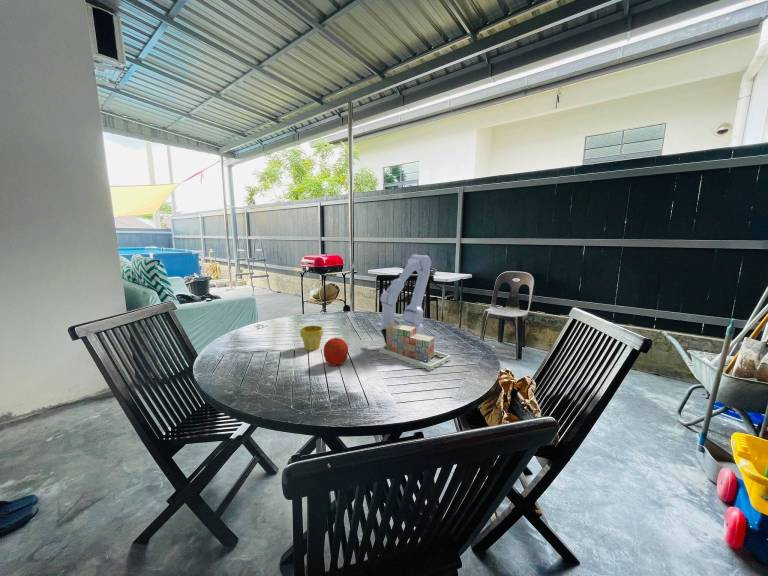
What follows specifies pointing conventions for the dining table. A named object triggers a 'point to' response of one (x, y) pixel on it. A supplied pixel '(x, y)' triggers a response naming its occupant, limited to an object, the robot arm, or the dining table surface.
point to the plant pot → (311, 336)
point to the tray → (416, 360)
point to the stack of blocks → (409, 342)
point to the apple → (335, 351)
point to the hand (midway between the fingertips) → (387, 343)
